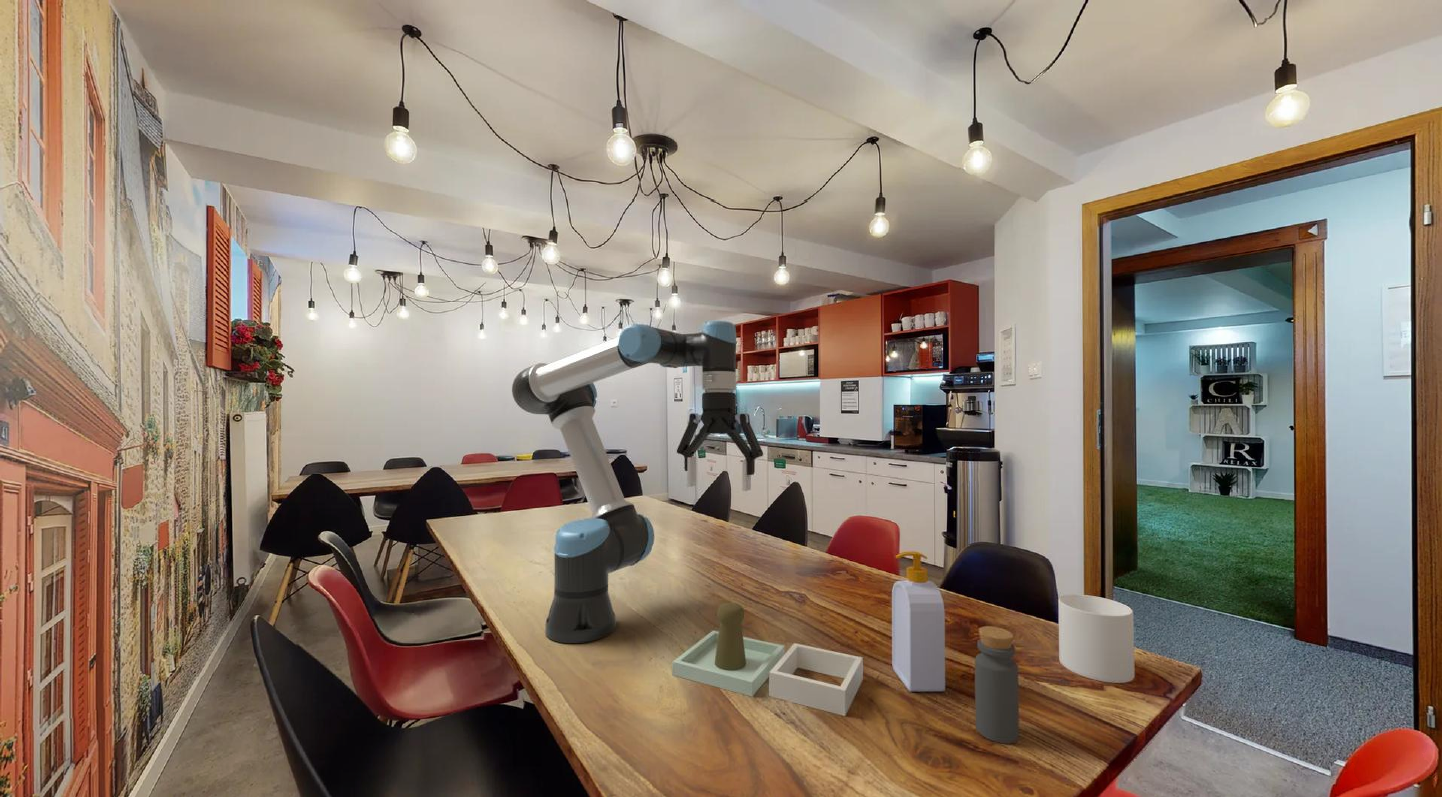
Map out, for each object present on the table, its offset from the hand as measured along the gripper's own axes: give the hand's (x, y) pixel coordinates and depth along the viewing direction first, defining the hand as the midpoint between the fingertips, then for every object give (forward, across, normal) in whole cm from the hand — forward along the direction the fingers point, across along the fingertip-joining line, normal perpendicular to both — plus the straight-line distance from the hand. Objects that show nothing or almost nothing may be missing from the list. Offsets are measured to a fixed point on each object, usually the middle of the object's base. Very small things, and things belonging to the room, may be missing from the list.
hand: (718, 488), depth 116 cm
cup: (+32, +71, +20) cm, 80 cm away
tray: (+32, +9, -12) cm, 35 cm away
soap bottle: (+32, +41, -1) cm, 52 cm away
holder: (+32, +26, -12) cm, 43 cm away
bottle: (+32, +54, -12) cm, 64 cm away
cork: (+31, +9, -12) cm, 35 cm away
